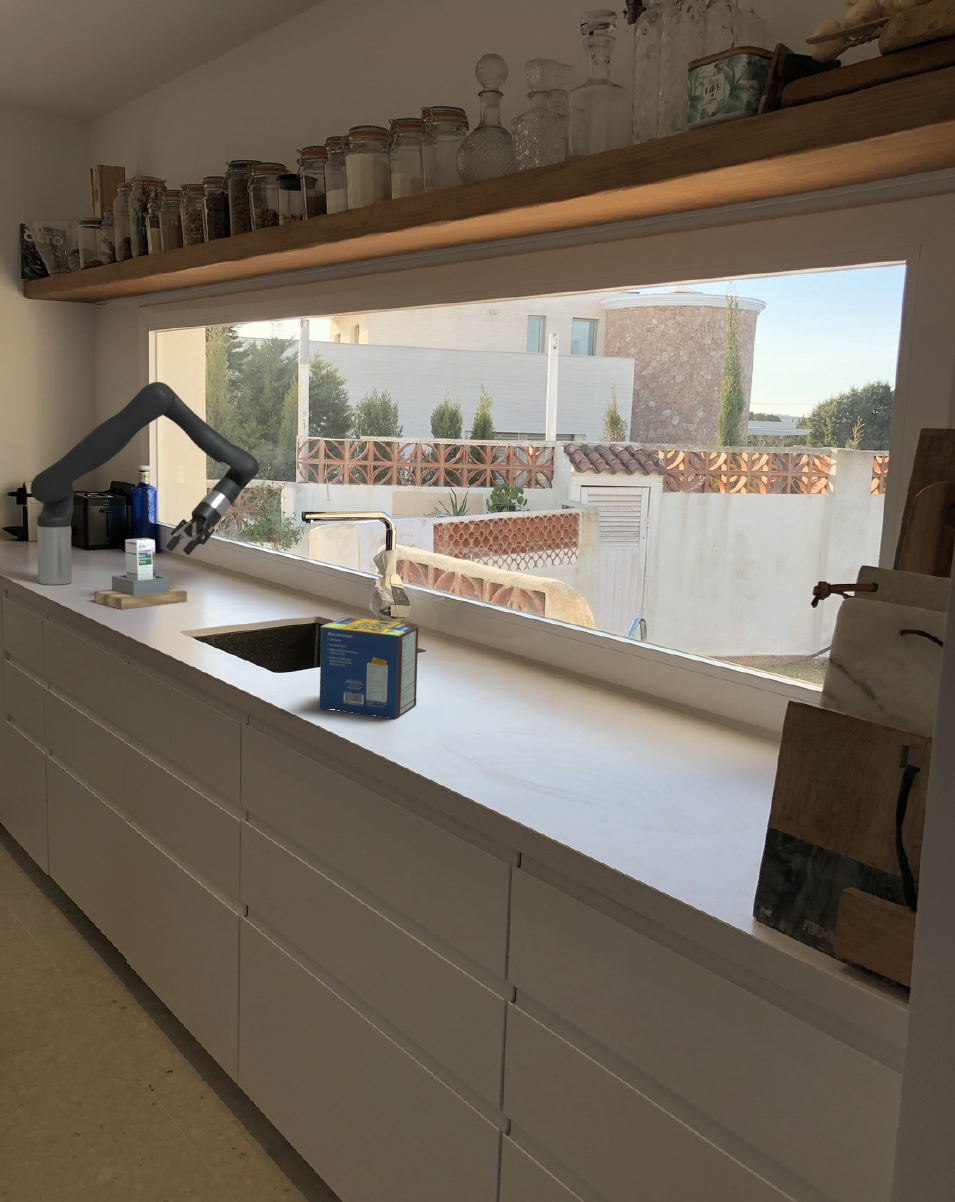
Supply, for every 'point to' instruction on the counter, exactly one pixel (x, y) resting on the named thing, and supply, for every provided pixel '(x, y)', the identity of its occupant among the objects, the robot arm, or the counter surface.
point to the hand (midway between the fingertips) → (176, 550)
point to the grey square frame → (140, 585)
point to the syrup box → (140, 559)
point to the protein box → (368, 667)
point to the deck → (138, 598)
